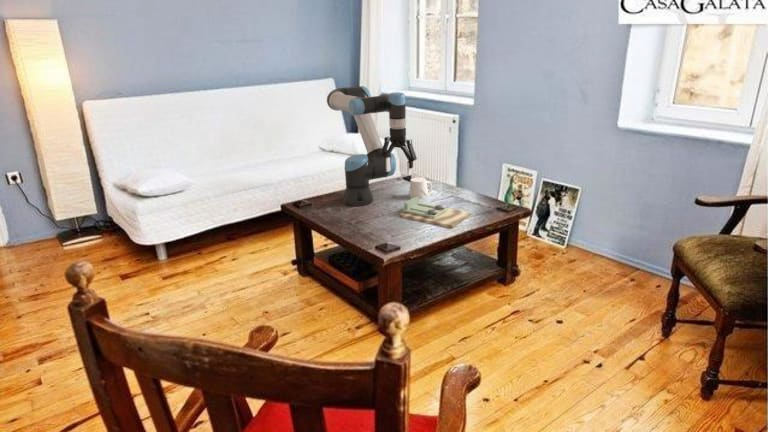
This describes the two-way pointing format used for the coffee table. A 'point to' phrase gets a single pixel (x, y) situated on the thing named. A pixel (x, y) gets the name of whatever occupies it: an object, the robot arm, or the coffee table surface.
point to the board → (440, 217)
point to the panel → (421, 208)
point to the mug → (419, 188)
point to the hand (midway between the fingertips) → (398, 172)
